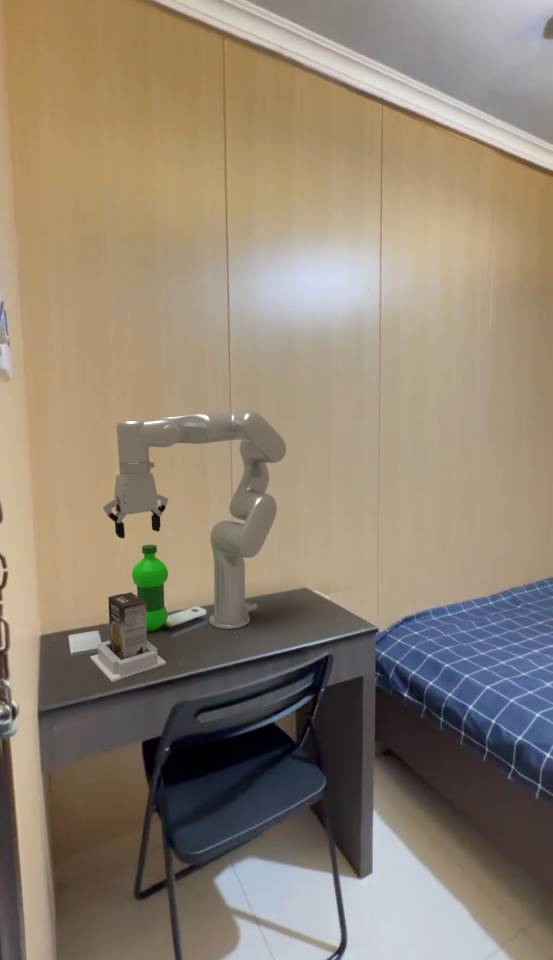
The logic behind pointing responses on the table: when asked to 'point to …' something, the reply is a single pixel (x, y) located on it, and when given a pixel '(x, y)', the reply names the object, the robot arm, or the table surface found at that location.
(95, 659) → the tray
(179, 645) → the table surface
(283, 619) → the table surface
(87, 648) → the hard drive
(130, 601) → the coffee box
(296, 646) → the table surface
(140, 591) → the plastic bottle
